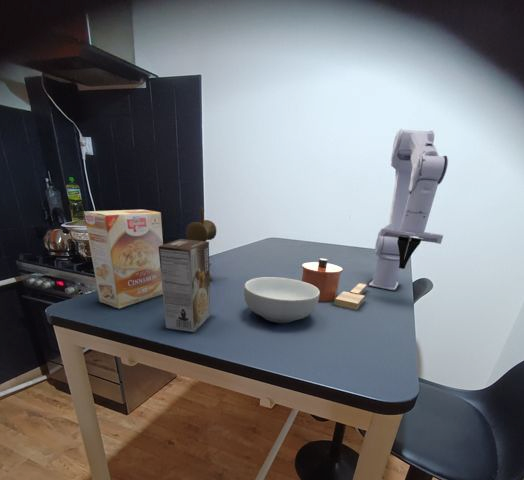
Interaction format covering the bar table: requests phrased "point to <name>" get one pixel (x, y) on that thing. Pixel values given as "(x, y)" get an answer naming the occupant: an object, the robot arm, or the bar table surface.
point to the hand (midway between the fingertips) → (401, 267)
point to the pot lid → (322, 267)
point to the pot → (323, 284)
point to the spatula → (351, 297)
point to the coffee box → (185, 283)
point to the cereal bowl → (281, 298)
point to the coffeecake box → (125, 255)
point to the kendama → (201, 230)
